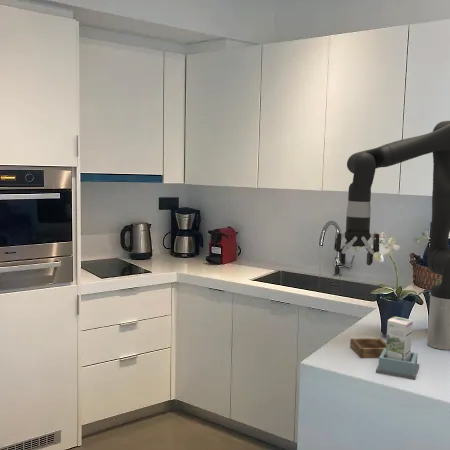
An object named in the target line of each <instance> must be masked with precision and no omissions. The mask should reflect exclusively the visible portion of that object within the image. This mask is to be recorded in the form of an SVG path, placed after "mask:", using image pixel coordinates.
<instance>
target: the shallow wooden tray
mask: <svg viewBox="0 0 450 450" xmlns="http://www.w3.org/2000/svg"><path fill="white" fill-rule="evenodd" d="M349 347H350V349H351V350H352V351H353V352H354V353H355V355H357V357H359V359H379V357H380V355H381V353H382V351H383V349H384V348H386V341H384V340H383V339H382V338H380V337H379V338H377V337H376V338H373V337H372V338H367V337H366V338H350V345H349Z"/></svg>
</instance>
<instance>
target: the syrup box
mask: <svg viewBox="0 0 450 450" xmlns="http://www.w3.org/2000/svg"><path fill="white" fill-rule="evenodd" d="M413 323H414V321H413V319H410V318H409V319H408V318H404V317H399V316H392V317H391V318H389V319H387V322H386V324H387V327H386V341H385V343H386V358H391V359H397V360H403V361H409V362H410V355H411V352H412V341H413V340H412V337H413V326H414V325H413Z"/></svg>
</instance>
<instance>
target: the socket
mask: <svg viewBox="0 0 450 450" xmlns="http://www.w3.org/2000/svg"><path fill="white" fill-rule="evenodd" d="M418 354H419V352H413V351H411V355H410V362H409V361H403V360H397V359H391V358H386V348H384V349H383V351H382V353H381V355H380V357H379V358H378V365H377V366H376V369H375V373H376V374H381V375H386V376H387V375H388V376H392V377H398V378H403V379H409V380H414V381H415V380H416V378H417V375H418V372H419V369H420V363H418V357H419V355H418Z"/></svg>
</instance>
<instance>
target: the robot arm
mask: <svg viewBox="0 0 450 450" xmlns="http://www.w3.org/2000/svg"><path fill="white" fill-rule="evenodd" d="M431 153H432V160H433V161H432V162H433V164H432V165H433V166H432V167H433V168H432V169H433V170H432V194H431V195H432V196H431V223H430V225H431V227H430V238H429V245H428V251H427V266H428V269H429V271H430V272H431V273H433V274H437V275H439V276H442V277H441V282H440V283H439V284H435V285H432V286H431V288H430V297H429V298H430V299H429V311H428V312H429V313H428V326H427V337H426V340H427V341H426V342H427V343H426V344H427V346H429V347H431V348H433V349H439V350H445V351H446V350H447V351H450V248H449V236H450V120H444V121H440V122H438V123H437V124H436V125H435V126H434V127H433V130H432V131H431V132H428V133H425V134H421V135H417V136H412V137H408V138H407V137H406V138H404V139H399V140H396V141H392V142H388V143H386V144H382V145H381V146H378V147H375V148H369V149H366V150H365V149H364V150H362V151H358V152H355V153H353V154H351V155H350V156H349V158H348V159H347V162H346V167H347V170H348V171H349V172H350V173H352V174H353V177H352V182H351V183H350V184H349V186H348V195H347V205H346V212H345V214H346V218H345V219H346V220H345V232H344V233H341V232H336V233H335V237H334V246H333V250H334V252H335V251H336V252H338V253H339V260H338V261H339V263H340V265H341V266H346V255H347V254H346V252H347V251H348V250H349V249H350V248H351V247H354V248H356V247H360V248H365V249H366V251H367V253H366V262H365V263H366V265H367V266H371V265H373V263H374V261H373V259H374V254H375V253H379V252H380V234H378V233H377V232H374V233H370V229H371V215H372V214H371V213H372V207H371V205H372V204H371V200H372V199H371V196H372V185H373V182H374V179H375V174H376V169H379V168H388V167H391V166H394V165H398V164H400V163H404V162H407V161H410V160H413V159H415V158H418V157H421V156H424V155H428V154H431ZM344 239H345V242H344V243H343V244H342V246H341V242H342V240H344ZM369 240H372V246H371V244H370V243H369V242H368V241H369Z"/></svg>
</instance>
